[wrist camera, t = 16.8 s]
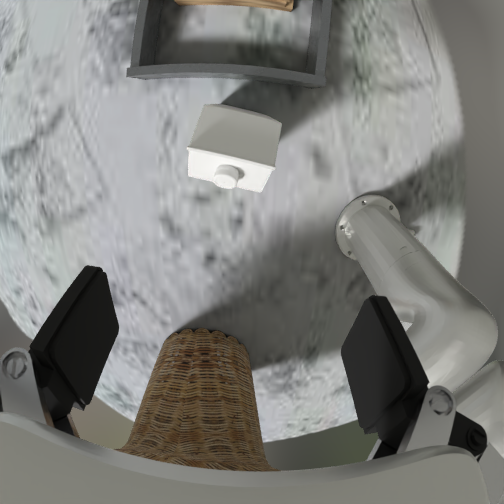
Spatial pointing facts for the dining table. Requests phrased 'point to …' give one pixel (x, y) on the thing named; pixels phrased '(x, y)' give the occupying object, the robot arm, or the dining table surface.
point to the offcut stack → (243, 3)
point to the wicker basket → (200, 406)
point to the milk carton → (234, 147)
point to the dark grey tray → (146, 69)
